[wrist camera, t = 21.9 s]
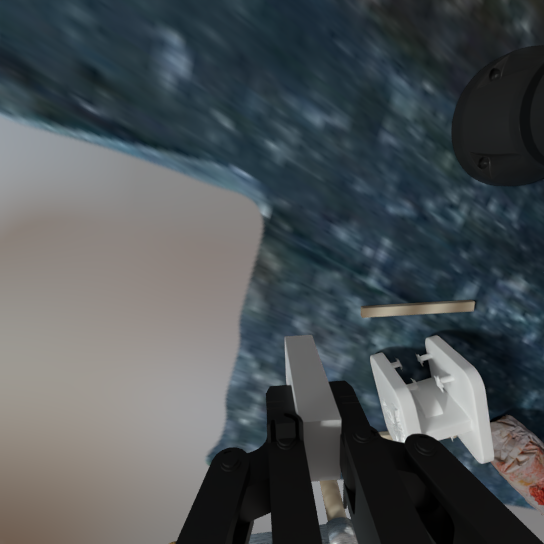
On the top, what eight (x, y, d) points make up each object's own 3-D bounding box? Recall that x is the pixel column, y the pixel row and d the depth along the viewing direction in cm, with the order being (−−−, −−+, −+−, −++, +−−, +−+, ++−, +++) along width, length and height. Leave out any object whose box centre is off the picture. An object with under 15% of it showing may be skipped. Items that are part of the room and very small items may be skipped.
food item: (461, 432, 53) (506, 487, 44) (502, 402, 52) (556, 452, 42) (506, 477, 56) (557, 537, 47) (545, 449, 55) (605, 506, 46)
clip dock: (471, 299, 47) (548, 342, 34) (452, 441, 53) (510, 519, 41) (301, 309, 46) (317, 357, 34) (304, 451, 53) (318, 534, 40)
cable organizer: (446, 409, 52) (498, 473, 41) (382, 428, 52) (416, 495, 41) (431, 328, 48) (485, 373, 36) (362, 348, 48) (394, 399, 37)
